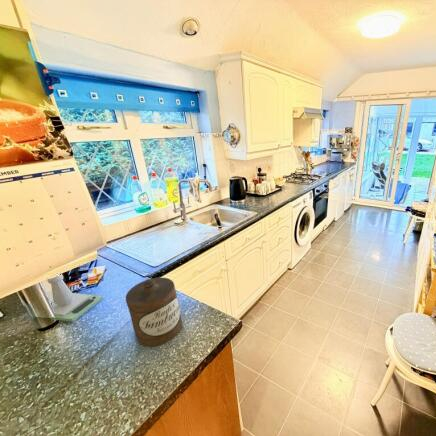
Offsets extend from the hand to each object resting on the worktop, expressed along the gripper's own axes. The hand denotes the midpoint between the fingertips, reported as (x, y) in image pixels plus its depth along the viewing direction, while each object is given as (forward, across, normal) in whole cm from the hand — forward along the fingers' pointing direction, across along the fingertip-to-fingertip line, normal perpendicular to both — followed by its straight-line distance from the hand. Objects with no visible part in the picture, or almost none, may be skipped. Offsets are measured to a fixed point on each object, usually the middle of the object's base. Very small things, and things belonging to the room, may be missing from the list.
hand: (57, 284), depth 94 cm
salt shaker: (+8, 0, -1) cm, 8 cm away
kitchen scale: (+12, -1, -2) cm, 12 cm away
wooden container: (+38, -21, +23) cm, 49 cm away
